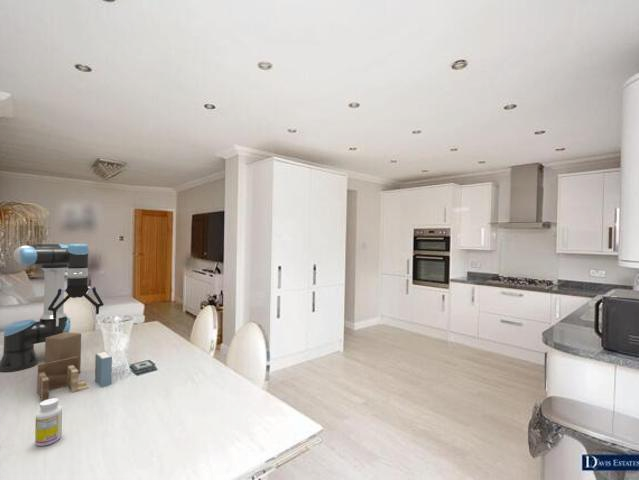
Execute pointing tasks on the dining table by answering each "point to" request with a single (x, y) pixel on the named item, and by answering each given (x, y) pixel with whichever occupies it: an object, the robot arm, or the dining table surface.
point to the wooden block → (63, 347)
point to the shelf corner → (53, 376)
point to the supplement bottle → (48, 422)
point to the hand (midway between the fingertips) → (76, 323)
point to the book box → (103, 369)
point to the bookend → (74, 380)
